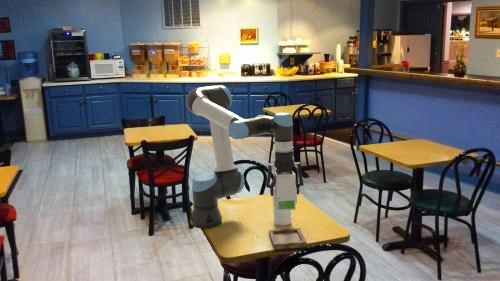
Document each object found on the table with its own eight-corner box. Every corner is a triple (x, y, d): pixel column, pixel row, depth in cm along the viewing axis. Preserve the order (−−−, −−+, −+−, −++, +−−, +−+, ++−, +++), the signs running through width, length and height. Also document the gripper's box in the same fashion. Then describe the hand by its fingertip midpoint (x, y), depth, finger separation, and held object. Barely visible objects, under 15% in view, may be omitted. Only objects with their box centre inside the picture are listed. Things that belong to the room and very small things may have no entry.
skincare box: (276, 211, 195) (276, 175, 191) (274, 206, 201) (273, 171, 198) (296, 209, 196) (295, 174, 192) (293, 204, 202) (292, 169, 199)
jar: (280, 227, 216) (279, 203, 213) (269, 222, 223) (269, 198, 220) (295, 222, 221) (294, 198, 218) (284, 217, 228) (284, 194, 225)
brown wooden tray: (273, 249, 194) (273, 244, 194) (268, 234, 209) (268, 229, 208) (306, 246, 196) (306, 242, 195) (299, 232, 210) (299, 227, 210)
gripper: (259, 153, 189) (261, 206, 193) (310, 151, 190) (311, 203, 195) (257, 149, 196) (259, 200, 201) (307, 147, 197) (307, 197, 202)
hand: (284, 202), depth 198 cm, fingers closed on skincare box, 8 cm apart
